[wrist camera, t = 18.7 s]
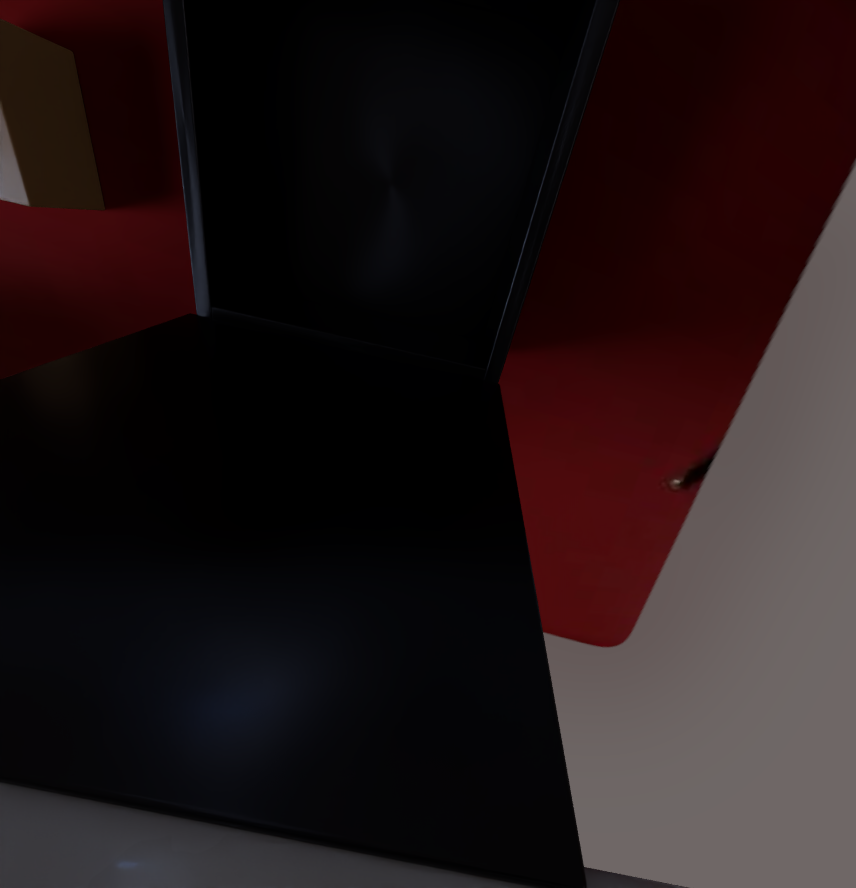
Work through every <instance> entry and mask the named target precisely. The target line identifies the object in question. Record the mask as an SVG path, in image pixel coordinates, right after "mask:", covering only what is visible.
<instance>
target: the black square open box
mask: <svg viewBox="0 0 856 888" xmlns="http://www.w3.org/2000/svg"><path fill="white" fill-rule="evenodd" d="M619 2H620V0H163V8H164V17H165V27H166V36H167V45H168V54H169V63H170V73H171V82H172V91H173V100H174V109H175V118H176V128H177V137H178V146H179V155H180V164H181V174H182V183H183V192H184V201H185V210H186V220H187V229H188V238H189V247H190V256H191V266H192V275H193V284H194V293H195V302H196V311H197V315H200V316H204V317H208V318H213V319H217V320H222V321H226V322H230V323H235V324H239V325H244V326H248V327H252V328H257V329H261V330H265V331H270V332H274V333H279V334H283V335H287V336H292V337H296V338H301V339H305V340H309V341H314V342H318V343H322V344H327V345H331V346H336V347H340V348H344V349H349V350H353V351H358V352H362V353H366V354H371V355H375V356H379V357H384V358H388V359H393V360H397V361H401V362H406V363H410V364H414V365H419V366H423V367H428V368H432V369H436V370H441V371H445V372H450V373H454V374H458V375H463V376H467V377H471V378H476V379H480V380H485V381H489V382H493V383H498V382H499V379H500V376H501V373H502V370H503V367H504V364H505V360H506V357H507V354H508V351H509V348H510V345H511V342H512V338H513V335H514V332H515V329H516V326H517V323H518V320H519V316H520V313H521V310H522V307H523V304H524V301H525V298H526V294H527V291H528V288H529V285H530V282H531V279H532V276H533V272H534V269H535V266H536V263H537V260H538V257H539V254H540V251H541V247H542V244H543V241H544V238H545V235H546V232H547V229H548V225H549V222H550V219H551V216H552V213H553V210H554V207H555V203H556V200H557V197H558V194H559V191H560V188H561V185H562V181H563V178H564V175H565V172H566V169H567V166H568V163H569V159H570V156H571V153H572V150H573V147H574V144H575V141H576V137H577V134H578V131H579V128H580V125H581V122H582V119H583V115H584V112H585V109H586V106H587V103H588V100H589V97H590V93H591V90H592V87H593V84H594V81H595V78H596V75H597V72H598V68H599V65H600V62H601V59H602V56H603V53H604V50H605V46H606V43H607V40H608V37H609V34H610V31H611V28H612V24H613V21H614V18H615V15H616V12H617V9H618V6H619Z"/></svg>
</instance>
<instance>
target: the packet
mask: <svg viewBox="0 0 856 888" xmlns="http://www.w3.org/2000/svg"><path fill="white" fill-rule="evenodd" d="M0 200H5V201H9V202H13V203H18V204H22V205H26V206H31V207H49V208H68V209H86V210H105V206H104V201H103V196H102V192H101V187H100V182H99V177H98V172H97V167H96V162H95V157H94V152H93V147H92V142H91V138H90V133H89V128H88V123H87V118H86V113H85V108H84V103H83V98H82V93H81V88H80V84H79V79H78V74H77V69H76V64H75V59H74V54H73V52H72V51H71V50H68V49H66V48H64V47H62V46H59V45H57V44H55V43H53V42H51V41H48V40H46V39H44V38H42V37H40V36H37V35H35V34H33V33H31V32H29V31H26V30H24V29H22V28H20V27H17V26H15V25H13V24H11V23H9V22H6V21H4V20H2V19H0Z"/></svg>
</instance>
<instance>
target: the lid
mask: <svg viewBox="0 0 856 888" xmlns="http://www.w3.org/2000/svg"><path fill="white" fill-rule="evenodd" d="M0 783H5V784H11V785H16V786H21V787H26V788H31V789H36V790H41V791H46V792H51V793H56V794H61V795H66V796H72V797H77V798H82V799H87V800H92V801H97V802H102V803H107V804H112V805H117V806H122V807H128V808H133V809H138V810H143V811H148V812H153V813H158V814H163V815H168V816H173V817H178V818H183V819H189V820H194V821H199V822H204V823H209V824H214V825H219V826H224V827H229V828H234V829H239V830H244V831H250V832H255V833H260V834H265V835H270V836H275V837H280V838H285V839H290V840H295V841H300V842H306V843H311V844H316V845H321V846H326V847H331V848H336V849H341V850H346V851H351V852H356V853H361V854H367V855H372V856H377V857H382V858H387V859H392V860H397V861H402V862H407V863H412V864H417V865H422V866H428V867H433V868H438V869H443V870H448V871H453V872H458V873H463V874H468V875H473V876H478V877H483V878H489V879H494V880H499V881H504V882H509V883H514V884H519V885H524V886H529V887H534V888H587V882H586V876H585V870H584V865H583V859H582V854H581V847H580V842H579V836H578V830H577V825H576V819H575V813H574V807H573V802H572V796H571V790H570V785H569V779H568V774H567V767H566V762H565V756H564V750H563V745H562V739H561V733H560V727H559V722H558V716H557V710H556V704H555V699H554V693H553V687H552V681H551V676H550V670H549V664H548V659H547V653H546V647H545V641H544V636H543V630H542V624H541V618H540V613H539V607H538V601H537V596H536V590H535V584H534V578H533V573H532V567H531V561H530V555H529V550H528V544H527V538H526V533H525V527H524V521H523V515H522V510H521V504H520V498H519V492H518V487H517V481H516V475H515V470H514V464H513V458H512V452H511V447H510V441H509V435H508V429H507V424H506V418H505V412H504V407H503V401H502V395H501V389H500V384H498V383H493V382H489V381H485V380H480V379H476V378H471V377H467V376H463V375H458V374H454V373H450V372H445V371H441V370H436V369H432V368H428V367H423V366H419V365H414V364H410V363H406V362H401V361H397V360H393V359H388V358H384V357H379V356H375V355H371V354H366V353H362V352H358V351H353V350H349V349H344V348H340V347H336V346H331V345H327V344H322V343H318V342H314V341H309V340H305V339H301V338H296V337H292V336H287V335H283V334H279V333H274V332H270V331H265V330H261V329H257V328H252V327H248V326H244V325H239V324H235V323H230V322H226V321H222V320H217V319H213V318H208V317H204V316H200V315H195V314H191V313H190V314H187V315H184V316H181V317H178V318H175V319H172V320H169V321H167V322H164V323H161V324H158V325H155V326H152V327H149V328H147V329H144V330H141V331H138V332H135V333H132V334H129V335H126V336H124V337H121V338H118V339H115V340H112V341H109V342H106V343H103V344H101V345H98V346H95V347H92V348H89V349H86V350H83V351H80V352H78V353H75V354H72V355H69V356H66V357H63V358H60V359H57V360H55V361H52V362H49V363H46V364H43V365H40V366H37V367H34V368H32V369H29V370H26V371H23V372H20V373H17V374H14V375H11V376H9V377H6V378H3V379H0Z"/></svg>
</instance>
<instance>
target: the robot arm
mask: <svg viewBox="0 0 856 888" xmlns="http://www.w3.org/2000/svg"><path fill="white" fill-rule="evenodd" d="M584 870H585V876H586V882H587V888H688V887H682V886H678V885H672V884H667V883H662V882H657V881H652V880H647V879H642V878H637V877H632V876H626V875H621V874H617V873H612V872H607V871H602V870H597V869H591V868H586V867H584ZM0 888H534V887H529V886H524V885H519V884H514V883H509V882H504V881H499V880H494V879H489V878H483V877H478V876H473V875H468V874H463V873H458V872H453V871H448V870H443V869H438V868H433V867H428V866H422V865H417V864H412V863H407V862H402V861H397V860H392V859H387V858H382V857H377V856H372V855H367V854H361V853H356V852H351V851H346V850H341V849H336V848H331V847H326V846H321V845H316V844H311V843H306V842H300V841H295V840H290V839H285V838H280V837H275V836H270V835H265V834H260V833H255V832H250V831H244V830H239V829H234V828H229V827H224V826H219V825H214V824H209V823H204V822H199V821H194V820H189V819H183V818H178V817H173V816H168V815H163V814H158V813H153V812H148V811H143V810H138V809H133V808H128V807H122V806H117V805H112V804H107V803H102V802H97V801H92V800H87V799H82V798H77V797H72V796H66V795H61V794H56V793H51V792H46V791H41V790H36V789H31V788H26V787H21V786H16V785H11V784H5V783H0Z"/></svg>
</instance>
